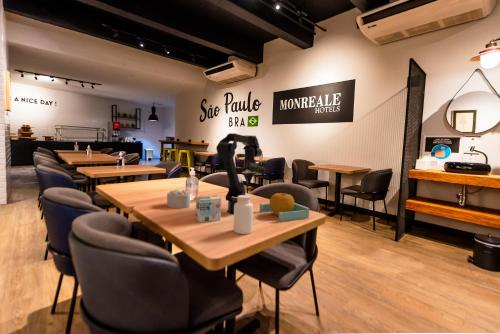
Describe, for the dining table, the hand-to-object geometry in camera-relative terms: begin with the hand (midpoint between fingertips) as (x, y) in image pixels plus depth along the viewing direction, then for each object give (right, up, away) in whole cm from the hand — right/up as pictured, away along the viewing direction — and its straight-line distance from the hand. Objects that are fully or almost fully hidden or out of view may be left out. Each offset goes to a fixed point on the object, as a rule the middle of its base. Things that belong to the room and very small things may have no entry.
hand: (248, 184), depth 151 cm
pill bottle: (-2, -17, -40) cm, 44 cm away
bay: (+19, -15, -12) cm, 27 cm away
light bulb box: (-19, -15, -25) cm, 35 cm away
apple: (+17, -15, -13) cm, 26 cm away
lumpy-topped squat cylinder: (-39, -12, -2) cm, 41 cm away
